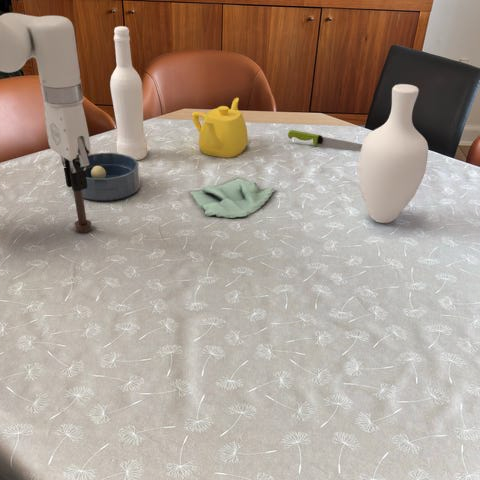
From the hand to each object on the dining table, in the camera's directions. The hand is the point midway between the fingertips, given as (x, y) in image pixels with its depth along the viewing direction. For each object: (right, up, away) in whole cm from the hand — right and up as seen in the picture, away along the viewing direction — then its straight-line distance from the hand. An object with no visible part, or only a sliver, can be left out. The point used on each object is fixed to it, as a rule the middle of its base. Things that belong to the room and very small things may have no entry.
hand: (77, 186), depth 136 cm
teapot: (+28, +26, +43) cm, 58 cm away
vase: (+67, -3, +13) cm, 68 cm away
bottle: (+5, +22, +38) cm, 44 cm away
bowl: (+2, +8, +22) cm, 24 cm away
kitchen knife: (+58, +27, +45) cm, 79 cm away
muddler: (0, -7, +7) cm, 10 cm away
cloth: (+33, +4, +20) cm, 39 cm away
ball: (0, +12, +23) cm, 26 cm away
